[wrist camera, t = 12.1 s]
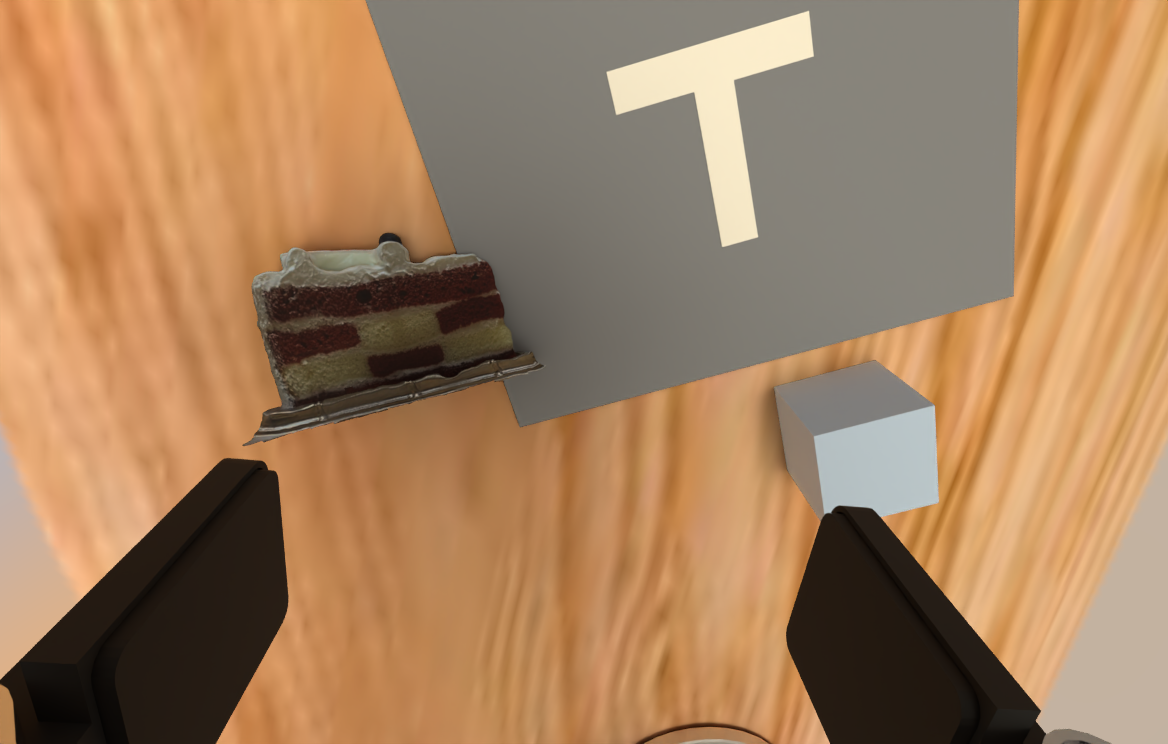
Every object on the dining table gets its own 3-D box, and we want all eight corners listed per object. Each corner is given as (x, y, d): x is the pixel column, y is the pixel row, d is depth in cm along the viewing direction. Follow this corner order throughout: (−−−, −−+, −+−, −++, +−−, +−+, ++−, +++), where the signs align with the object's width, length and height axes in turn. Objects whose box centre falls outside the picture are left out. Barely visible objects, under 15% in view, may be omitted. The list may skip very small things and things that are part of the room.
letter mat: (1011, 295, 28) (1014, 296, 28) (519, 426, 29) (519, 427, 29) (1021, -259, 20) (1024, -262, 20) (351, -43, 22) (349, -44, 21)
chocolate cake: (529, 205, 26) (215, 220, 17) (563, 366, 26) (278, 453, 18) (420, 251, 32) (158, 277, 24) (449, 378, 33) (206, 444, 25)
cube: (881, 445, 31) (938, 502, 26) (786, 469, 31) (826, 530, 27) (874, 359, 29) (934, 405, 24) (773, 386, 29) (813, 436, 25)
